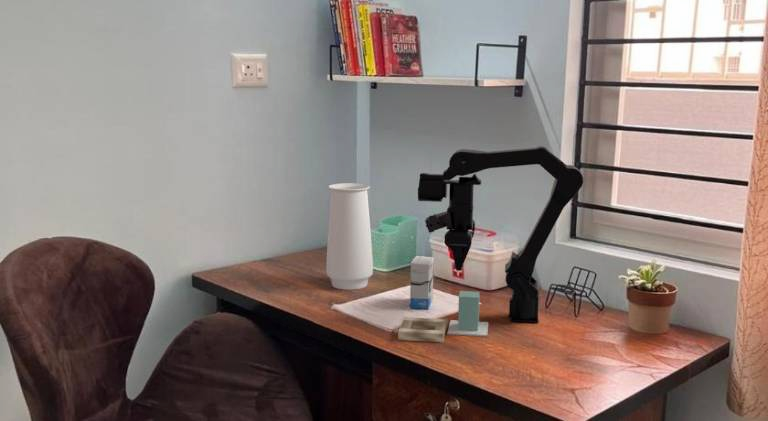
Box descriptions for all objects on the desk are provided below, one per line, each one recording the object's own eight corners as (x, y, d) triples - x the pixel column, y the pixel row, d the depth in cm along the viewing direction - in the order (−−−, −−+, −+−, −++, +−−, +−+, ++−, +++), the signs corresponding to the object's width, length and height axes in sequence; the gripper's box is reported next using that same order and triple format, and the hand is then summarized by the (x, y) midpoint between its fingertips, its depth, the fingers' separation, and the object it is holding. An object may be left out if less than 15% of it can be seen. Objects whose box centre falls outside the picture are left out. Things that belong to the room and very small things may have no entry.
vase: (368, 292, 204) (368, 190, 199) (321, 290, 206) (320, 189, 201) (376, 279, 217) (376, 183, 211) (332, 277, 219) (331, 182, 213)
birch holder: (446, 327, 176) (447, 319, 176) (442, 342, 167) (443, 333, 166) (404, 325, 178) (404, 317, 178) (398, 339, 168) (398, 331, 168)
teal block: (478, 324, 177) (479, 291, 176) (477, 331, 173) (478, 297, 171) (459, 323, 178) (460, 290, 176) (458, 329, 174) (458, 296, 172)
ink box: (428, 309, 189) (429, 264, 187) (409, 308, 190) (409, 263, 188) (433, 300, 198) (434, 256, 196) (414, 298, 199) (415, 255, 197)
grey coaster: (488, 323, 179) (488, 322, 179) (487, 336, 170) (487, 335, 170) (450, 321, 181) (450, 320, 180) (447, 334, 172) (447, 332, 172)
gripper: (431, 195, 191) (430, 255, 194) (423, 208, 173) (422, 274, 176) (476, 196, 189) (474, 257, 192) (471, 209, 171) (470, 276, 174)
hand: (459, 265), depth 183 cm, fingers open, 9 cm apart
